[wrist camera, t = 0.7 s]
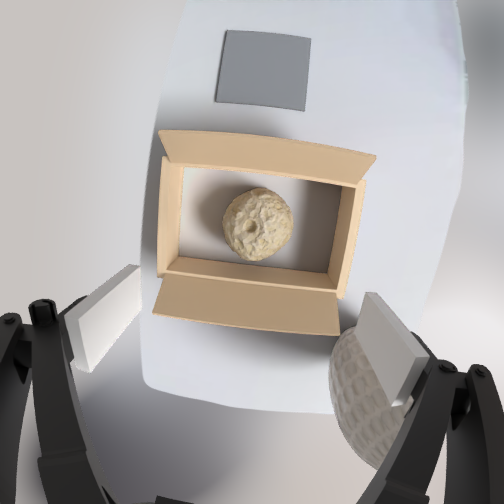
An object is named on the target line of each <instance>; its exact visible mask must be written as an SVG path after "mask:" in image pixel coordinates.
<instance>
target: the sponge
mask: <svg viewBox="0 0 504 504" xmlns="http://www.w3.org/2000/svg"><path fill="white" fill-rule="evenodd" d="M222 219H223V223H222V226H223V231H224V233H225V238H226V242H227V244H228V245H229V246H230V248H231V249H232V250H233V251H234V252H236V253H237V254H238V255H239V256H240V258H242V259H244V260H247V261H260V260H263V259H264V258H268V257H269V256H271V255H273V254H275V253H276V252H277V251H278V250H280V249H281V247H283V246H284V245H285V244H286V243H287V242H288V241H289V239H290V237H291V233H292V230H293V224H294V223H293V216H292V213H291V210H290V207H289V206H287V204H286V203H285V201H284V200H283V199H282V198H281V197H280V196H279V195H278V194H276V193H275V192H272V191H271V190H268V189H266V188H255V189H252V190H248V191H247V192H245V193H243V194H240V195H239V196H238V197H236V198H235V199H233V201H232V202H231V204H230V205H229V206H228V207H227V209H226V213H225V214H224V217H223V218H222Z"/></svg>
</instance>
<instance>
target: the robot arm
mask: <svg viewBox="0 0 504 504" xmlns="http://www.w3.org/2000/svg"><path fill="white" fill-rule="evenodd" d="M28 308H29V313H30V317H31V321H32V325H30V324H23V323H22V319H21V317H20V315H19V314H17V313H6V314H4V315H3V316H1V317H0V504H15V496H16V475H17V474H16V473H17V461H18V451H19V442H20V435H21V429H22V422H23V416H24V411H25V406H26V402H27V397H28V393H29V389H30V384H31V381H32V383H33V397H34V407H35V416H36V423H37V430H38V436H39V442H40V447H41V452H42V457H39V458H38V468H39V472H40V477H41V480H42V484H43V488H44V491H45V495H46V498H47V501H48V504H120V503H119V501H118V500H117V498H116V496H115V495H114V493H113V491H112V489H111V487H110V485H109V482H108V480H107V478H106V476H105V474H104V472H103V469H102V467H101V464H100V462H99V459H98V457H97V454H96V452H95V449H94V446H93V444H92V441H91V438H90V435H89V432H88V429H87V426H86V423H85V420H84V417H83V413H82V410H81V406H80V403H79V399H78V395H77V392H76V387H75V383H74V379H73V375H72V370H71V366H70V362H71V361H72V360H73V359H74V360H75V364H76V367H77V369H80V370H83V371H86V372H89V373H91V372H92V370H93V369H94V368H95V367H96V365H97V364H98V363H99V361H100V360H101V359H102V358H103V356H104V355H105V354H106V352H107V351H108V350H109V349H110V347H111V346H112V345H113V344H114V342H115V341H116V340H117V339H118V337H119V336H120V335H121V334H122V332H123V331H124V330H125V329H126V327H127V326H128V325H129V324H130V322H131V321H132V320H133V319H134V317H135V316H136V315H137V314H138V313H139V312H140V310H141V309H142V293H141V266H137V265H130V264H129V265H128V266H126V267H125V268H124V269H122V270H121V271H120V272H118V273H117V274H116V275H114V276H113V277H112V278H110V279H109V280H108V281H106V282H105V283H104V284H103V285H101V286H100V287H99V288H98V289H96V290H95V291H94V292H92V293H91V294H90V295H88V296H84V297H81V298H79V299H77V300H76V301H75V302H73V304H71V305H70V306H68V308H66V309H64V310H63V311H62V312H61V313H59V314H57V310H56V304H55V302H54V301H52V300H50V299H40V300H36V301H34V302H32V303H31V304H30V305H29V307H28ZM354 333H355V335H356V337H357V339H358V341H359V343H360V344H361V346H362V348H363V350H364V352H365V354H366V356H367V358H368V360H369V362H370V364H371V366H372V368H373V370H374V372H375V374H376V376H377V378H378V380H379V382H380V384H381V386H382V388H383V390H384V392H385V394H386V396H387V398H388V401H389V403H390V405H391V406H399V405H405V404H406V402H407V401H408V399H409V397H410V395H411V396H412V398H413V400H414V401H413V403H412V405H411V406H410V408H409V410H408V411H407V413H406V415H405V416H404V418H405V420H404V422H403V424H402V426H401V428H400V430H399V432H398V434H397V436H396V438H395V440H394V442H393V444H392V446H391V448H390V450H389V452H388V454H387V455H386V457H385V459H384V461H383V462H382V464H381V466H380V468H379V469H378V471H377V473H376V474H375V476H374V478H373V479H372V481H371V482H370V484H369V485H368V487H367V489H366V490H365V492H364V493H363V494H362V496H361V497H360V499H359V500H358V502H357V503H356V504H428V503H429V500H430V499H429V496H426V495H425V494H426V491H427V488H428V485H429V483H430V480H431V478H432V475H433V472H434V470H435V467H436V464H437V461H438V458H439V455H440V451H441V448H442V445H443V441H444V438H445V434H447V467H446V468H447V469H446V487H445V498H444V504H504V412H503V409H502V405H501V401H500V398H499V395H498V392H497V389H496V386H495V383H494V380H493V377H492V374H491V372H490V371H489V370H488V369H487V368H486V367H485V366H483V365H479V364H473V365H471V367H470V369H469V370H468V372H467V373H464V372H458V370H457V368H456V366H455V365H454V364H452V363H451V362H449V361H446V360H438V359H437V358H436V357H435V355H434V354H433V353H432V352H431V350H430V349H429V348H427V346H426V344H425V343H424V342H423V341H422V339H421V338H420V337H419V336H418V335H416V334H415V333H413V332H410V331H409V330H408V329H407V327H406V326H405V325H404V324H403V323H402V321H401V320H400V319H399V318H398V317H397V315H396V314H395V313H394V312H393V311H392V310H391V308H390V307H389V306H388V305H387V304H386V303H385V302H384V300H383V299H382V298H381V297H380V296H379V295H378V294H377V293H373V292H365V296H364V300H363V303H362V307H361V311H360V314H359V318H358V321H357V324H356V328H355V331H354ZM136 504H193V503H188V502H183V501H178V500H173V499H169V498H165V497H161V496H157V497H156V501H155V503H136Z"/></svg>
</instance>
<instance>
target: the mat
mask: <svg viewBox="0 0 504 504" xmlns="http://www.w3.org/2000/svg"><path fill="white" fill-rule="evenodd" d="M310 46H311V38H305V37H299V36H292V35H284V34H276V33H266V32H254V31H235V30H227V35H226V41H225V47H224V53H223V59H222V65H221V72H220V78H219V85H218V92H217V99H216V102H220V103H237V104H249V105H260V106H269V107H277V108H285V109H292V110H299V111H305V104H306V93H307V83H308V71H309V59H310Z"/></svg>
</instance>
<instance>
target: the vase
mask: <svg viewBox="0 0 504 504" xmlns="http://www.w3.org/2000/svg"><path fill="white" fill-rule="evenodd" d="M355 328H356V326H354V327H351V328H349V329H347V330H346V331H344V332H343V333H342V334H341V335H340V337H339V338H338V340H337V342H336V344H335V346H334V348H333V351H332V354H331V358H330V364H329V372H328V374H329V390H330V396H331V401H332V405H333V408H334V412H335V415H336V418H337V421H338V424H339V427H340V429H341V431H342V433H343V435H344V437H345V439H346V440H347V442H348V443H349V445H350V446H351V448H352V449H353V450H354V451H355V453H356V454H357V455H358V456H359V457H360V458H361V459H362V460H364V461H365V462H366V463H367V464H369V465H370V466H372V467H373V468H375V469H376V470H378V469H379V468H380V466H381V464H382V462H383V461H384V459H385V457H386V455H387V454H388V452H389V450H390V448H391V446H392V444H393V442H394V440H395V438H396V436H397V434H398V432H399V430H400V428H401V426H402V424H403V422H404V420H405V418H404V416H405V415H406V413H407V411H408V410H409V408H410V406H411V405H412V403H413V401H414V400H413V398H412V396H411V395H410V397H409V399H408V401H407V402H406V404H405V405H399V406H391V405H390V403H389V401H388V398H387V396H386V394H385V392H384V390H383V388H382V386H381V384H380V382H379V380H378V378H377V376H376V374H375V372H374V370H373V368H372V366H371V364H370V362H369V360H368V358H367V356H366V354H365V352H364V350H363V348H362V346H361V344H360V343H359V341H358V339H357V337H356V335H355V333H354V331H355Z"/></svg>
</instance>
